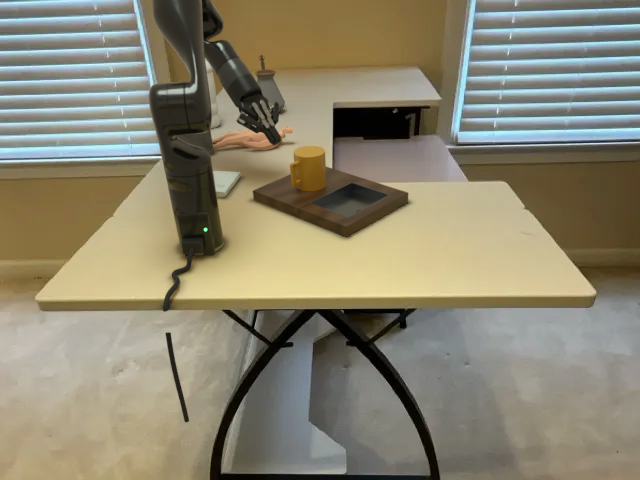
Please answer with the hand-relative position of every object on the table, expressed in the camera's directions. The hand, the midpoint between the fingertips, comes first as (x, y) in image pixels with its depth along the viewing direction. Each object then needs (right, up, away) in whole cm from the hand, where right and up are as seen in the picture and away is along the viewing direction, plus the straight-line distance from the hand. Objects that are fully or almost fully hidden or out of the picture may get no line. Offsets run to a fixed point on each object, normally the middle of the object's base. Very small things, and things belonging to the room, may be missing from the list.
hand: (277, 142), depth 146 cm
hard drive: (-16, -9, +6) cm, 19 cm away
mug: (+7, -11, -2) cm, 14 cm away
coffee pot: (-8, +30, +59) cm, 66 cm away
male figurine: (-10, +8, +30) cm, 32 cm away
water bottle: (-25, +19, +46) cm, 56 cm away
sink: (+17, -17, -7) cm, 26 cm away
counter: (+13, -15, -3) cm, 20 cm away
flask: (-27, +4, +26) cm, 38 cm away
